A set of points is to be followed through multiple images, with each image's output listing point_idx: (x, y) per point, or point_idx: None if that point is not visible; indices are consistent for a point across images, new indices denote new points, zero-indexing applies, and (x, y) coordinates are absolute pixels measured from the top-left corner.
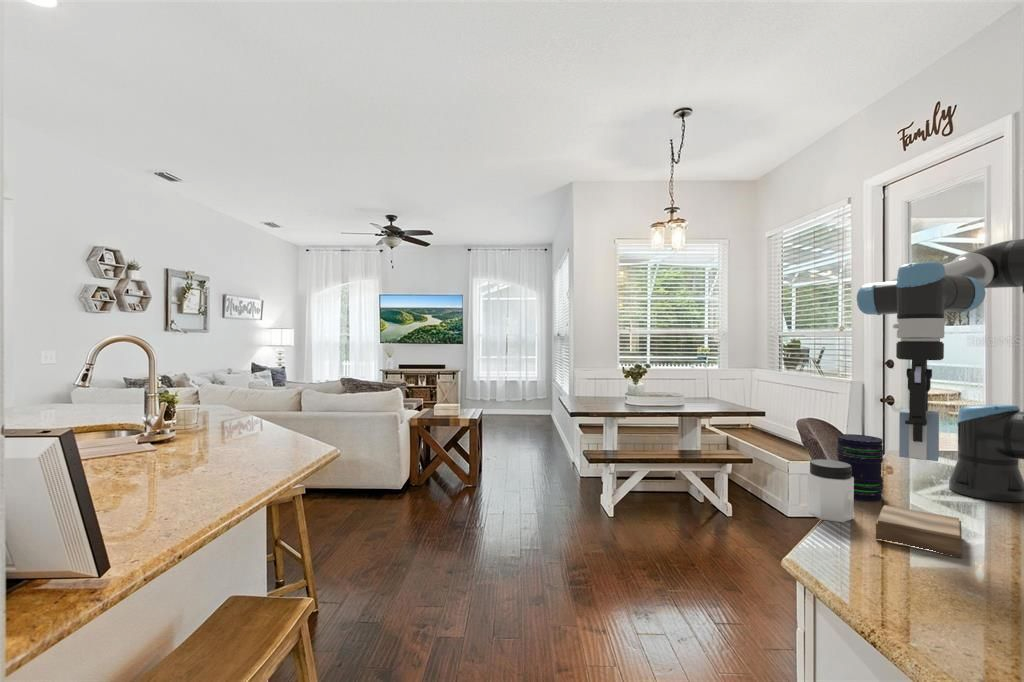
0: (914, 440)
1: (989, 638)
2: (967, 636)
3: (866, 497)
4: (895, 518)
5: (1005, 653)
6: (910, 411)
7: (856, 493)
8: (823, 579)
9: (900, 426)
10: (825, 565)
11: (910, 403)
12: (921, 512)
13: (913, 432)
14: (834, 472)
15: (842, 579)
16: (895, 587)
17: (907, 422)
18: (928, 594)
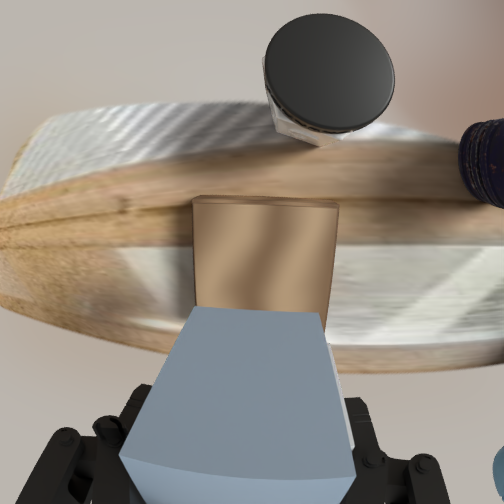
0: (140, 389)
1: (20, 301)
2: (12, 287)
3: (466, 173)
4: (234, 233)
5: (11, 306)
6: (38, 464)
7: (466, 154)
8: (20, 166)
9: (152, 392)
10: (51, 155)
11: (22, 495)
12: (322, 279)
13: (124, 410)
14: (268, 87)
15: (30, 183)
16: (46, 235)
17: (99, 426)
18: (54, 265)
